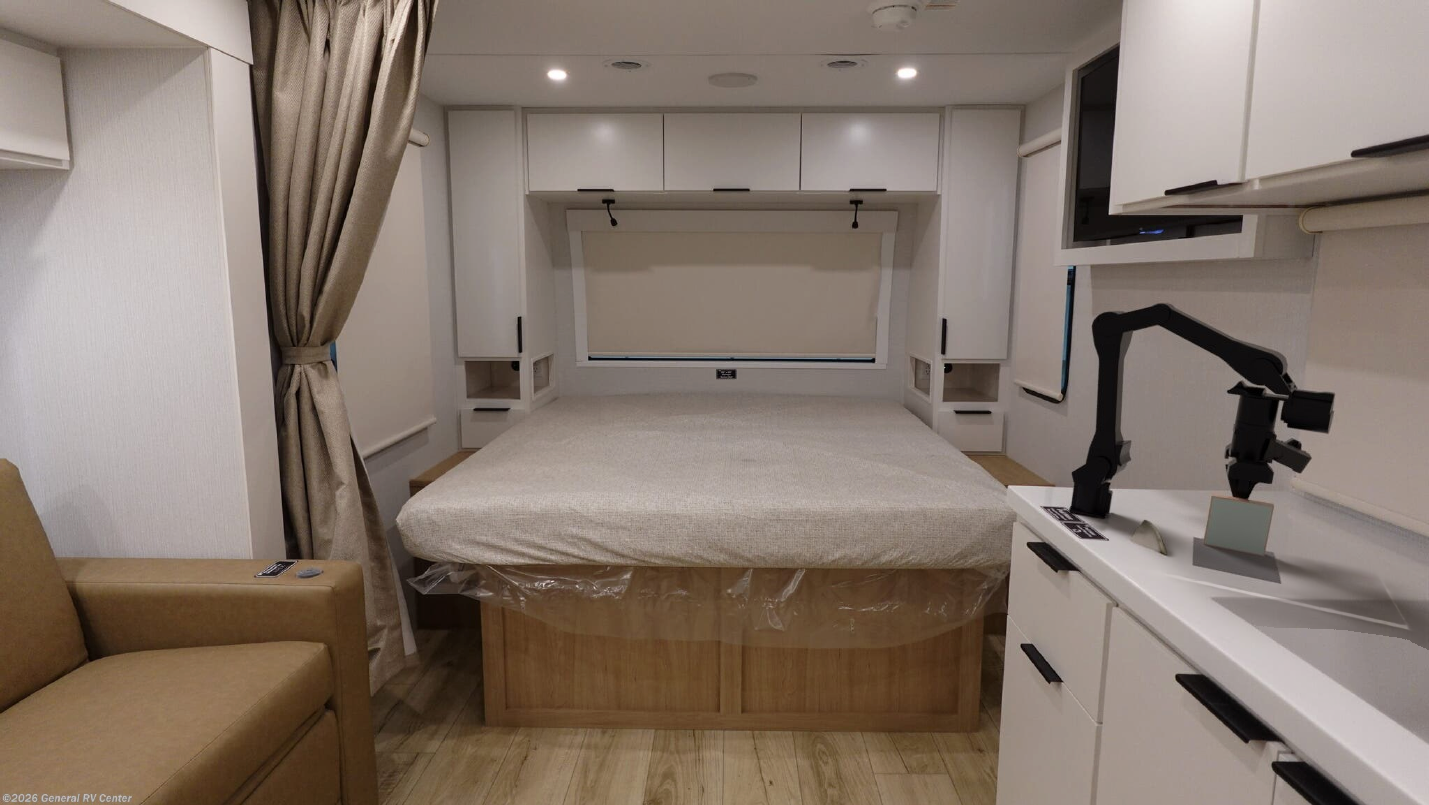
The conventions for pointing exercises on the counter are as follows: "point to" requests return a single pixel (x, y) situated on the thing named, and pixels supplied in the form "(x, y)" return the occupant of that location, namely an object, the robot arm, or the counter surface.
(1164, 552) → the ceramic fragment
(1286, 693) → the counter surface
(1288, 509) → the counter surface
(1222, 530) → the tile
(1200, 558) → the mat
